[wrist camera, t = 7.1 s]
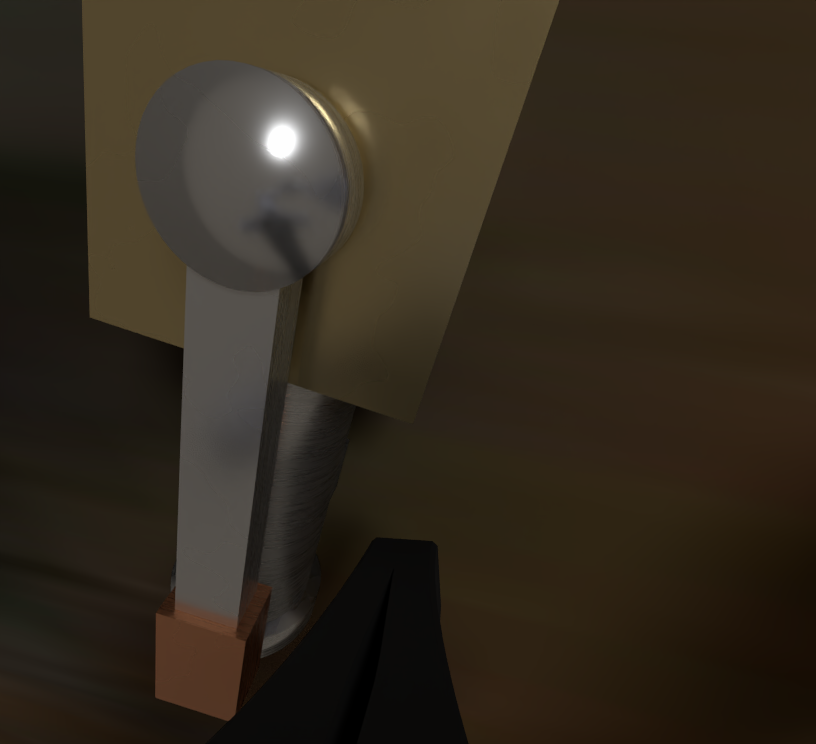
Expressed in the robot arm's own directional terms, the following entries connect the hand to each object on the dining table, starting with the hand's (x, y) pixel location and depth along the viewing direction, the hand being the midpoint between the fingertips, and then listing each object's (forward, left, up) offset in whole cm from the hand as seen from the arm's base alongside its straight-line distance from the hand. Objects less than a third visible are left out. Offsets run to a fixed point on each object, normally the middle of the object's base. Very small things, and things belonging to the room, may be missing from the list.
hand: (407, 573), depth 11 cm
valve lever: (+4, -2, 0) cm, 4 cm away
